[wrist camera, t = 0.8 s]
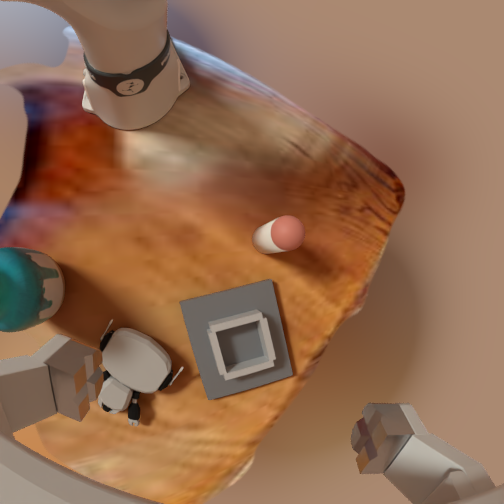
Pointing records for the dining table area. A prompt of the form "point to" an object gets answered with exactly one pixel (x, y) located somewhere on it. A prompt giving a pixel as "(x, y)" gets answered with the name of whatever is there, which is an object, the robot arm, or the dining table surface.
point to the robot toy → (131, 370)
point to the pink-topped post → (279, 235)
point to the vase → (28, 288)
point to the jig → (237, 338)
